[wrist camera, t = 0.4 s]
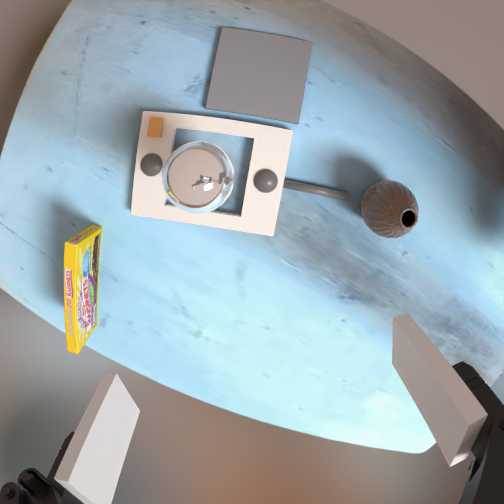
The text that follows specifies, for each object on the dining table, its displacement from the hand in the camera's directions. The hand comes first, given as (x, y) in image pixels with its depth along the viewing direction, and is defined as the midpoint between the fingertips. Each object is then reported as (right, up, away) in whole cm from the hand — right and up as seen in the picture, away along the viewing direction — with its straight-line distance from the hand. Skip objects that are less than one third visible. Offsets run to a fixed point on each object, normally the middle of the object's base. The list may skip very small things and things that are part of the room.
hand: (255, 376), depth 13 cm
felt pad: (+1, +27, +20) cm, 33 cm away
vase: (+16, +12, +25) cm, 32 cm away
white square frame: (-1, +15, +24) cm, 28 cm away
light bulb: (-5, +15, +24) cm, 29 cm away
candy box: (-23, +2, +28) cm, 36 cm away
